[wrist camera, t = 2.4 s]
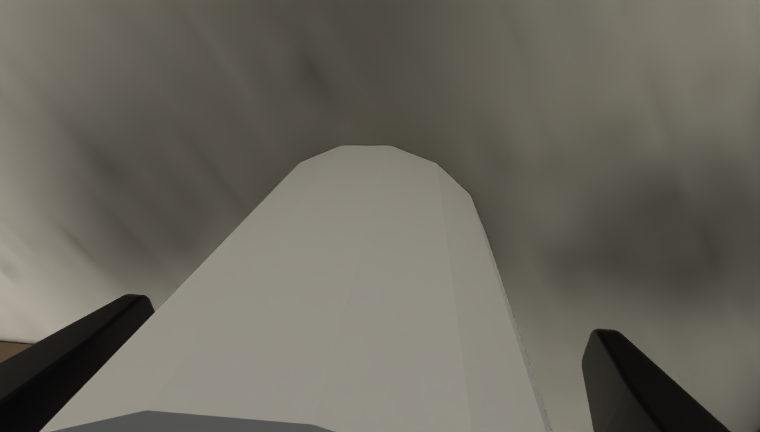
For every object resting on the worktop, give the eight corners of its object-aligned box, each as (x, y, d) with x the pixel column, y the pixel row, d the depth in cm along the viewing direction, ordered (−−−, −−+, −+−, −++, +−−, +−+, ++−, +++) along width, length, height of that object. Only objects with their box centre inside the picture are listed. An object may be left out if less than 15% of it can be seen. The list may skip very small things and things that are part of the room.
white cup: (470, 360, 13) (497, 722, 7) (244, 316, 13) (75, 632, 7) (555, 148, 9) (789, 539, 3) (236, 88, 9) (-152, 348, 3)
